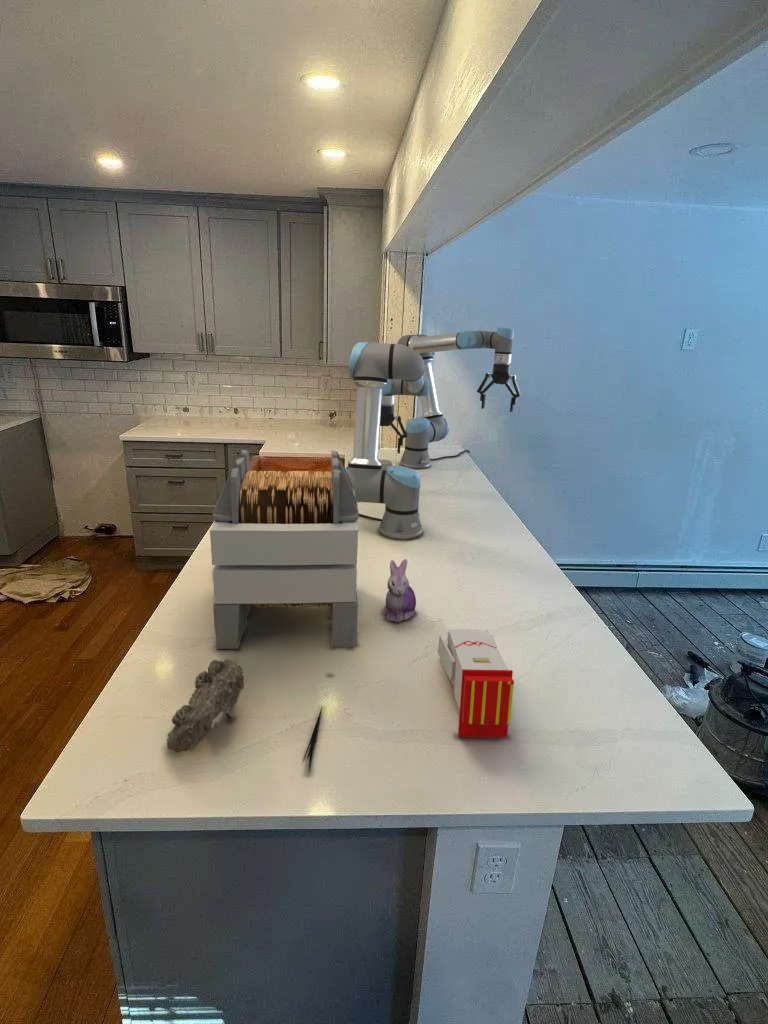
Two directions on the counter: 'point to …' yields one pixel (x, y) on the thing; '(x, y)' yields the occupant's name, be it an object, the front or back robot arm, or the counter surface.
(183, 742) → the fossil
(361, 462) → the front robot arm
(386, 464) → the canister
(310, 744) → the feather
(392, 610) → the figurine
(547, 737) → the counter surface
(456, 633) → the toy
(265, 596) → the record crate
